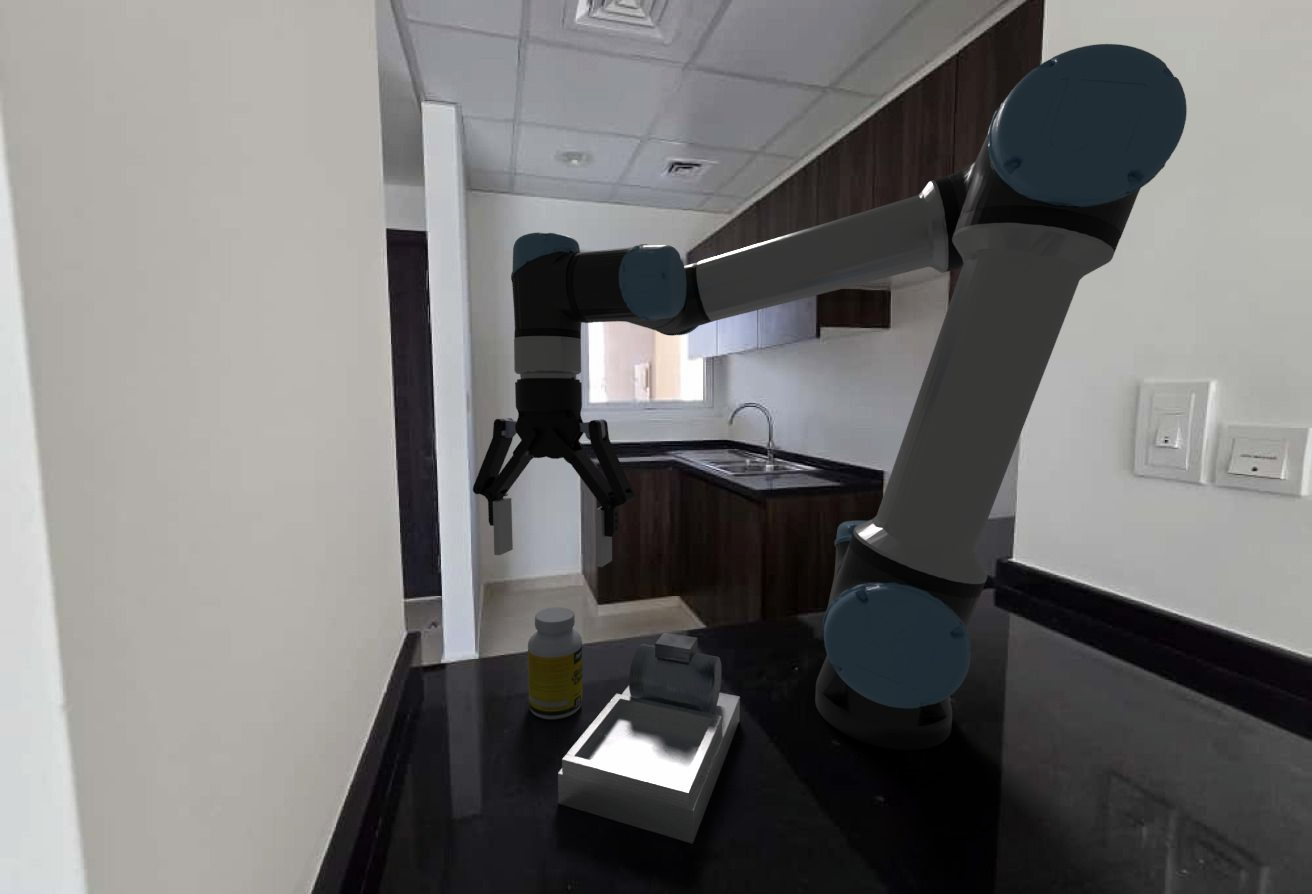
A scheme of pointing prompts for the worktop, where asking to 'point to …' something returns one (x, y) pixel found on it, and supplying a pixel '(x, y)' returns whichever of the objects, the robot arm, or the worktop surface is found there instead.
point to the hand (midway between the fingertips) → (552, 558)
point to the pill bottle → (555, 665)
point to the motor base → (655, 743)
